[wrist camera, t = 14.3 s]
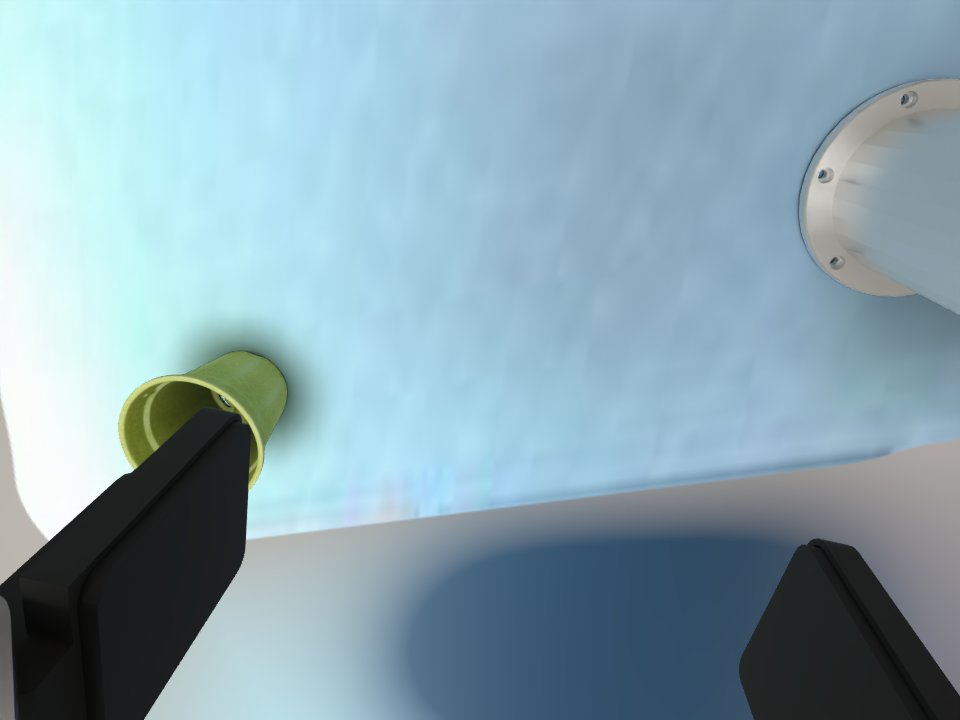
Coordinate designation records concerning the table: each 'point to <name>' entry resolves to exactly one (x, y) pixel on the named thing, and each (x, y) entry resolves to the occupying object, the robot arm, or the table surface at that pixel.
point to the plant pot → (205, 404)
